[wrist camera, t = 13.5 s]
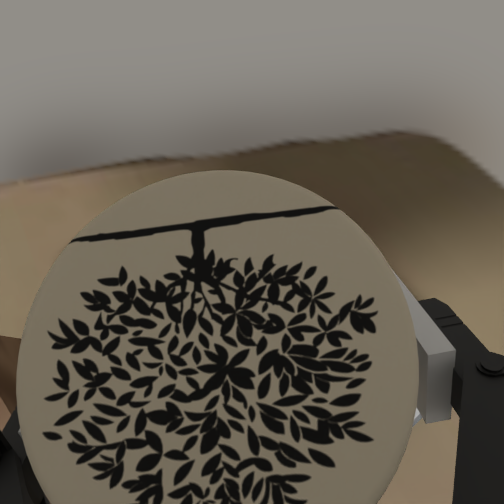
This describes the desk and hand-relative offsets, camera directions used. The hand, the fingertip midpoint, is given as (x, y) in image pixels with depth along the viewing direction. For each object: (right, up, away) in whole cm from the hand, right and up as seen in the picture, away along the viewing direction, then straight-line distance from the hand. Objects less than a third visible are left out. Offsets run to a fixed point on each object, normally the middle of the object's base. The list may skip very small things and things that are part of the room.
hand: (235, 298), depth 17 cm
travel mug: (+1, -5, +7) cm, 9 cm away
